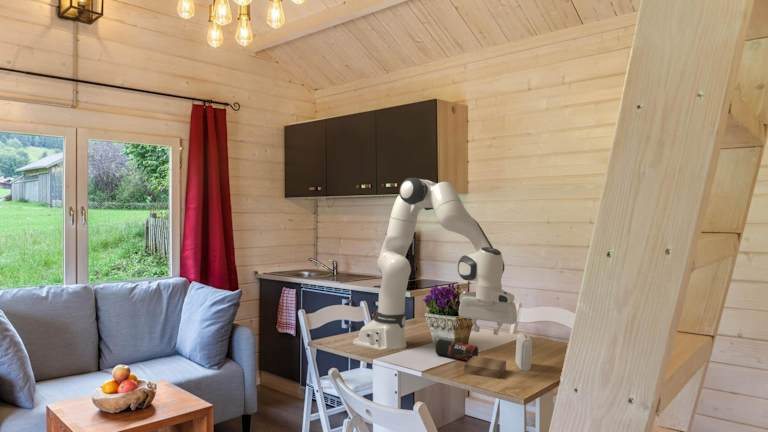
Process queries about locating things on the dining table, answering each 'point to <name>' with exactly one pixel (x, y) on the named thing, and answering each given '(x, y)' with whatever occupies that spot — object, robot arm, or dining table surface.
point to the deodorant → (456, 350)
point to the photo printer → (523, 352)
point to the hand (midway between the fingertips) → (486, 333)
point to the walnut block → (485, 367)
